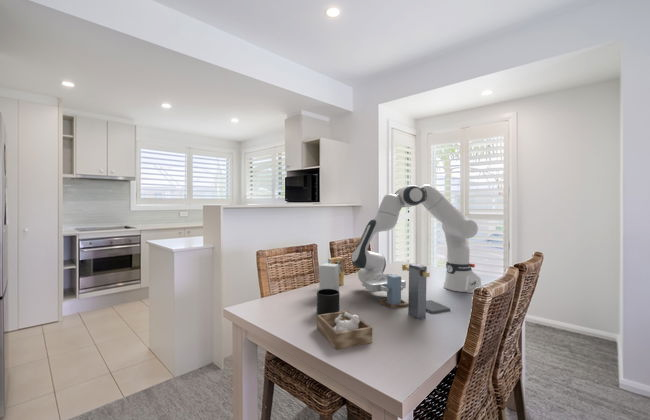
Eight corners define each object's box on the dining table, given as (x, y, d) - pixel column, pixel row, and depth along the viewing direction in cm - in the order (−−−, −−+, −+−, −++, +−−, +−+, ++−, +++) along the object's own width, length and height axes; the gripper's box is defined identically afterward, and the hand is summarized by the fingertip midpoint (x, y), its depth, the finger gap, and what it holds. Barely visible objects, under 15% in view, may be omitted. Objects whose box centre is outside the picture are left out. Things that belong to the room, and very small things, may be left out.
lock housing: (415, 313, 128) (416, 263, 128) (425, 318, 123) (426, 266, 122) (408, 314, 127) (409, 264, 126) (417, 319, 121) (418, 267, 121)
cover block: (394, 301, 142) (395, 274, 142) (400, 305, 138) (401, 276, 138) (386, 303, 141) (387, 275, 140) (392, 306, 137) (393, 277, 136)
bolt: (406, 269, 133) (406, 264, 133) (430, 277, 119) (430, 271, 119) (402, 270, 132) (402, 264, 132) (425, 278, 118) (425, 272, 118)
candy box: (339, 283, 174) (339, 256, 174) (344, 284, 171) (344, 257, 171) (327, 285, 169) (327, 258, 168) (332, 287, 166) (332, 259, 165)
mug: (343, 309, 132) (343, 288, 132) (335, 319, 121) (335, 296, 121) (323, 306, 135) (323, 286, 135) (313, 315, 124) (313, 294, 124)
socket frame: (396, 299, 146) (396, 297, 146) (409, 306, 137) (409, 303, 137) (379, 301, 142) (379, 299, 142) (391, 308, 133) (391, 306, 133)
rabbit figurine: (365, 334, 108) (365, 307, 108) (366, 344, 101) (366, 315, 100) (331, 333, 109) (331, 306, 109) (330, 342, 102) (330, 314, 102)
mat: (430, 302, 143) (430, 299, 143) (450, 310, 132) (450, 308, 132) (413, 304, 139) (413, 302, 139) (432, 313, 128) (432, 311, 128)
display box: (348, 323, 117) (349, 310, 117) (372, 342, 101) (372, 327, 101) (317, 328, 112) (317, 315, 112) (336, 349, 96) (336, 333, 96)
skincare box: (339, 295, 152) (339, 264, 152) (333, 298, 146) (333, 266, 146) (324, 292, 156) (324, 262, 155) (318, 296, 150) (318, 264, 150)
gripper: (360, 277, 147) (375, 284, 134) (395, 273, 155) (413, 280, 142) (360, 290, 147) (375, 298, 135) (395, 286, 155) (413, 293, 142)
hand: (395, 289), depth 138 cm, fingers open, 6 cm apart
